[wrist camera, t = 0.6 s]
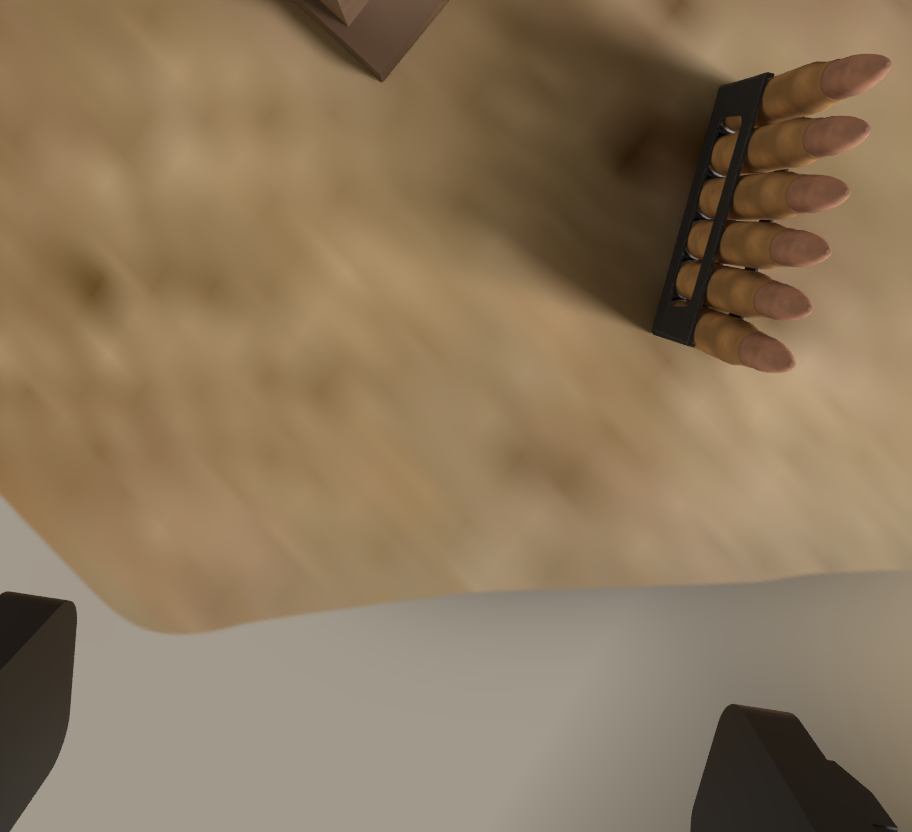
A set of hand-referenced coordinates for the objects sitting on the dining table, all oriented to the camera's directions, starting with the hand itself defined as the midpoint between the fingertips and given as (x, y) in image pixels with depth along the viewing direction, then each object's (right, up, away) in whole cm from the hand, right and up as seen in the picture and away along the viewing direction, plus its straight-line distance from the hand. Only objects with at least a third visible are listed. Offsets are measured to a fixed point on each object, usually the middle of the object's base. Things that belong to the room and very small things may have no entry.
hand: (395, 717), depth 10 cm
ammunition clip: (+12, +12, +26) cm, 31 cm away
